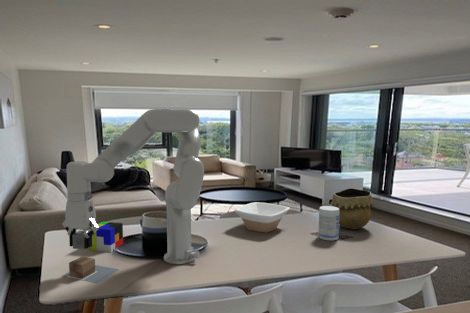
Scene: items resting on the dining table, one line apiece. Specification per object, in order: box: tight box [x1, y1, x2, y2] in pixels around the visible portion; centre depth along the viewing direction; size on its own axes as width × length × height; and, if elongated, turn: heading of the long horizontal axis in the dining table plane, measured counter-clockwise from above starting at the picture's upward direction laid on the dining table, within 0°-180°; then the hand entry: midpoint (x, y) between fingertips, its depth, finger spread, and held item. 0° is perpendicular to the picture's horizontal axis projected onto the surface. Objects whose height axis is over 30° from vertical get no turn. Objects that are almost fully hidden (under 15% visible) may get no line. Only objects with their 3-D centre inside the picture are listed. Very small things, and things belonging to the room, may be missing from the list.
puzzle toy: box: [89, 221, 124, 254], centre depth 152 cm, size 10×10×10 cm
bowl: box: [233, 201, 290, 234], centre depth 181 cm, size 24×25×11 cm
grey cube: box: [72, 230, 93, 250], centre depth 124 cm, size 5×5×5 cm
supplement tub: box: [318, 205, 340, 242], centre depth 165 cm, size 10×10×15 cm
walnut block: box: [68, 256, 96, 279], centre depth 124 cm, size 6×6×5 cm
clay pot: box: [330, 187, 375, 230], centre depth 180 cm, size 21×21×20 cm
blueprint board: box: [60, 264, 121, 284], centre depth 125 cm, size 16×12×1 cm
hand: (81, 246), depth 123 cm, fingers closed on grey cube, 5 cm apart
